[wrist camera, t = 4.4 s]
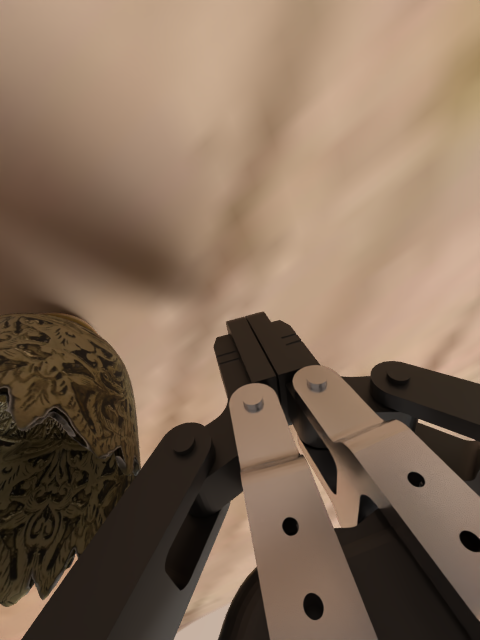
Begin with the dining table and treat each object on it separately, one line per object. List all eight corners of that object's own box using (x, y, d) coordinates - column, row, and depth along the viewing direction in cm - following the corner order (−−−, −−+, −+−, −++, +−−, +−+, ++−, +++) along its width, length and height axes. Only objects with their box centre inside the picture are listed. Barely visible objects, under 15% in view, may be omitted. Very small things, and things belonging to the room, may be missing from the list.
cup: (154, 394, 16) (154, 575, 9) (-7, 413, 14) (-154, 657, 7) (140, 259, 12) (122, 397, 5) (-80, 263, 10) (-506, 473, 4)
